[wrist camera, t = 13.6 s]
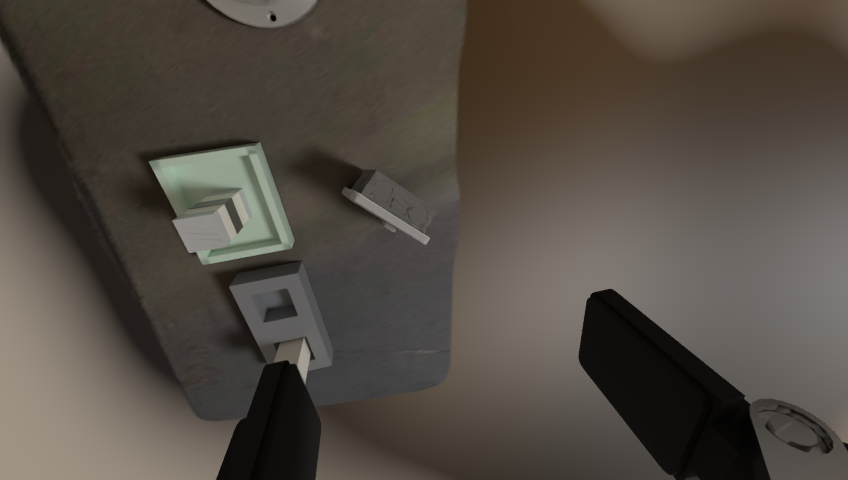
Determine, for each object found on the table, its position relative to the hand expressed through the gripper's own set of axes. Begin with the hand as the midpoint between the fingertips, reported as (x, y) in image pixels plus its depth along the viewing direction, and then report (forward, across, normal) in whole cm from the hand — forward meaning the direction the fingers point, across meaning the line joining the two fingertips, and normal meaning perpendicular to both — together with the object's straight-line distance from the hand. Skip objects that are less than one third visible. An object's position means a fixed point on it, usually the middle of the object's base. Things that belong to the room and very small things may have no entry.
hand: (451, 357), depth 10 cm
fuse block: (+30, +17, +19) cm, 40 cm away
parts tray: (+30, +18, +2) cm, 35 cm away
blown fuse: (+30, +18, +2) cm, 35 cm away
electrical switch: (+31, +1, +4) cm, 31 cm away
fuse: (+30, +17, +23) cm, 41 cm away
